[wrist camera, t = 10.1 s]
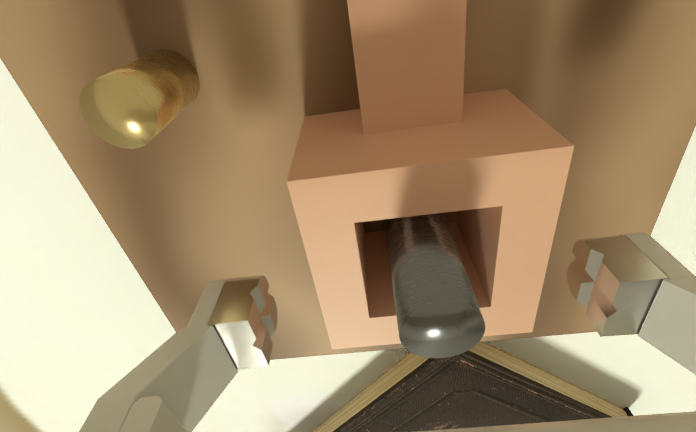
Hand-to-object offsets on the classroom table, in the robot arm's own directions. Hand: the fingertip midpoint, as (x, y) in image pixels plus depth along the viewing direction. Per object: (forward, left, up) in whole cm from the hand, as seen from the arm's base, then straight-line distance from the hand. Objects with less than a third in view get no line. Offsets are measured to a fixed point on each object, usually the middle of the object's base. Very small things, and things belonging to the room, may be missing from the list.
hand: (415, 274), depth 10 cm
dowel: (+6, -5, -4) cm, 9 cm away
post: (0, 0, -4) cm, 4 cm away
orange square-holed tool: (0, -4, -4) cm, 5 cm away
